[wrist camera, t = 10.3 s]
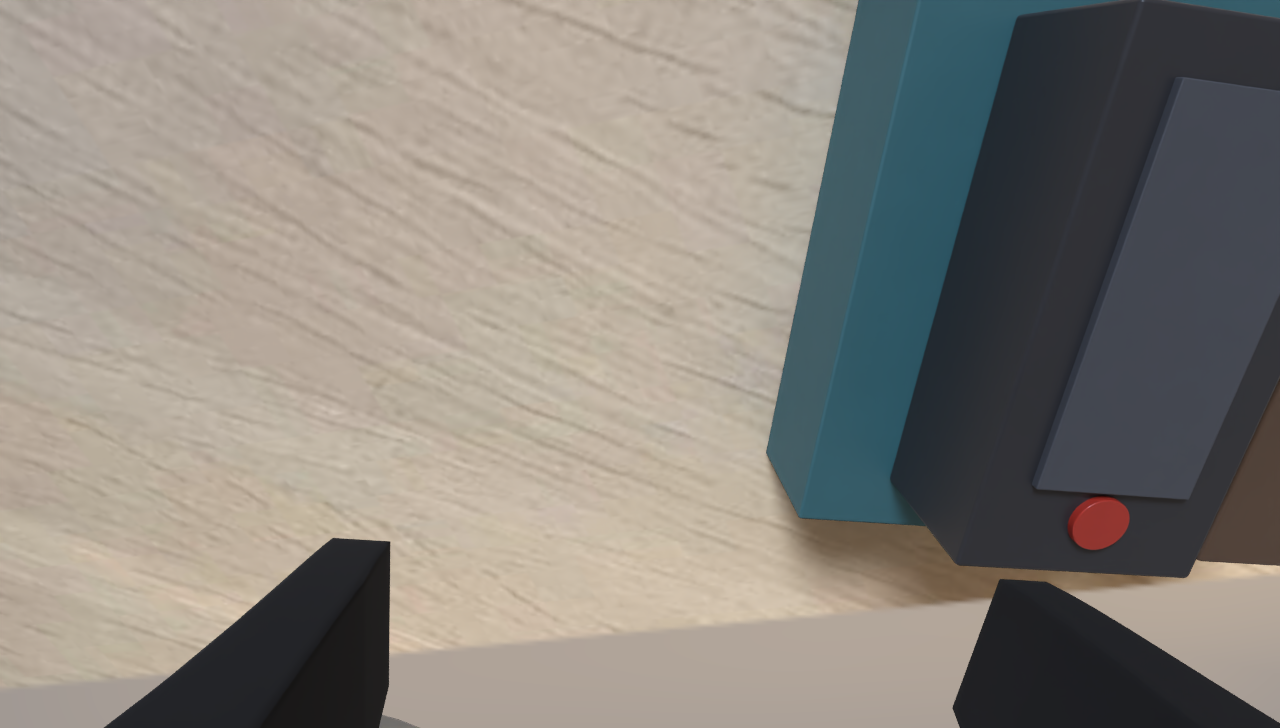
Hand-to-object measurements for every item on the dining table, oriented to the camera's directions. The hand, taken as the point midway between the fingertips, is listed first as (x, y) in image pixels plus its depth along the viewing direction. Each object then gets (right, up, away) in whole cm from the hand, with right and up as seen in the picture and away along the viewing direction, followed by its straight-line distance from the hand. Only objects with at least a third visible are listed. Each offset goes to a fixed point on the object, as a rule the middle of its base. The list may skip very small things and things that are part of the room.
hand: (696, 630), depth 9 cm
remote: (+7, +5, +6) cm, 10 cm away
